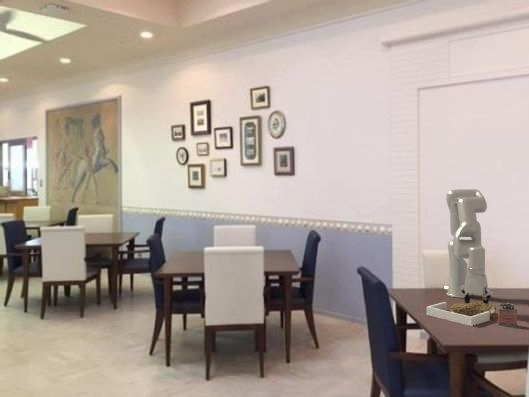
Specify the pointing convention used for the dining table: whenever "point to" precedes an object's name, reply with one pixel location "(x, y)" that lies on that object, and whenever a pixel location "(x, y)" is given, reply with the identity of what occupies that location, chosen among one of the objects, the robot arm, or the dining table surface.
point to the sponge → (473, 309)
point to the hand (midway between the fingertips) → (476, 305)
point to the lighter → (507, 315)
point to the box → (456, 315)
